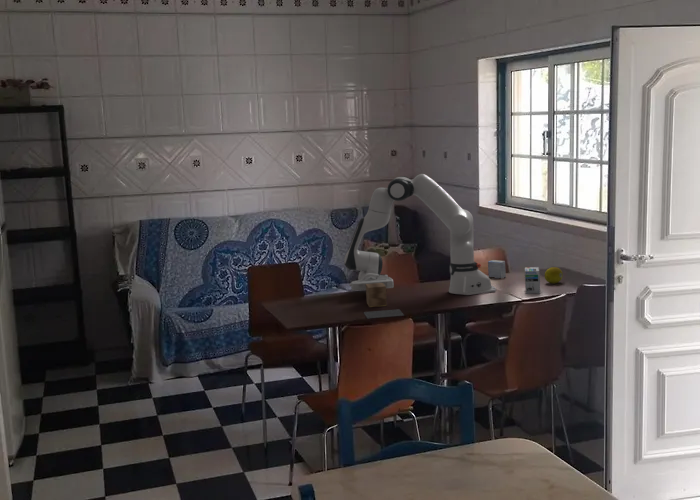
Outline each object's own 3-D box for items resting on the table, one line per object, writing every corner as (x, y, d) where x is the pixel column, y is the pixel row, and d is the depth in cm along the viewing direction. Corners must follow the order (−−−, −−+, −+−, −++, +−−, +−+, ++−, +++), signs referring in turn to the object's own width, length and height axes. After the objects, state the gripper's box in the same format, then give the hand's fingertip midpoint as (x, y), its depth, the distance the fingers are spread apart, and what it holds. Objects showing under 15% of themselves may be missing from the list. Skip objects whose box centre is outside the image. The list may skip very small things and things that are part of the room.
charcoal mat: (399, 309, 345) (399, 309, 345) (404, 315, 333) (404, 315, 333) (363, 312, 343) (363, 312, 343) (367, 318, 331) (367, 318, 331)
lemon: (551, 286, 375) (551, 269, 374) (540, 283, 382) (539, 267, 381) (568, 282, 380) (568, 266, 379) (556, 280, 387) (556, 264, 386)
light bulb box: (540, 293, 360) (539, 270, 358) (525, 294, 361) (524, 271, 360) (539, 289, 370) (539, 266, 369) (525, 289, 372) (524, 267, 370)
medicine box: (506, 277, 402) (505, 261, 401) (501, 279, 399) (500, 262, 398) (493, 276, 408) (492, 259, 406) (488, 277, 405) (487, 261, 403)
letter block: (383, 301, 363) (382, 282, 361) (386, 305, 354) (385, 286, 352) (366, 303, 362) (365, 284, 360) (369, 307, 353) (368, 287, 352)
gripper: (348, 277, 374) (351, 282, 361) (390, 274, 376) (395, 279, 363) (349, 290, 375) (352, 296, 362) (391, 287, 377) (396, 292, 364)
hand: (374, 287), depth 362 cm, fingers closed
